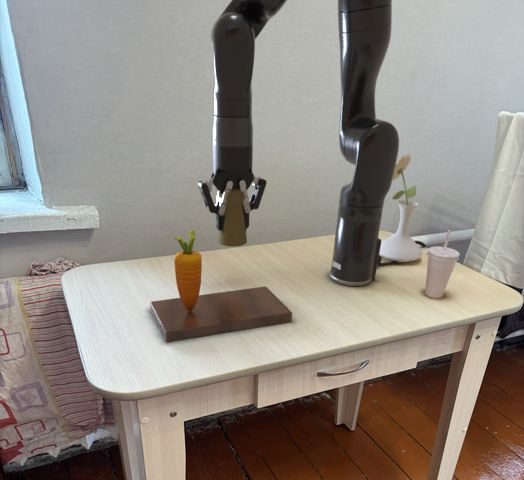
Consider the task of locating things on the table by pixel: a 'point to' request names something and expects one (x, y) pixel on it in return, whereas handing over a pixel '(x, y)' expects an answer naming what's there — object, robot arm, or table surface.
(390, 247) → the flower in vase
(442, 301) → the table surface
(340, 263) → the robot arm
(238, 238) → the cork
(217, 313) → the cutting board
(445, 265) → the smoothie
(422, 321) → the table surface
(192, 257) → the carrot
